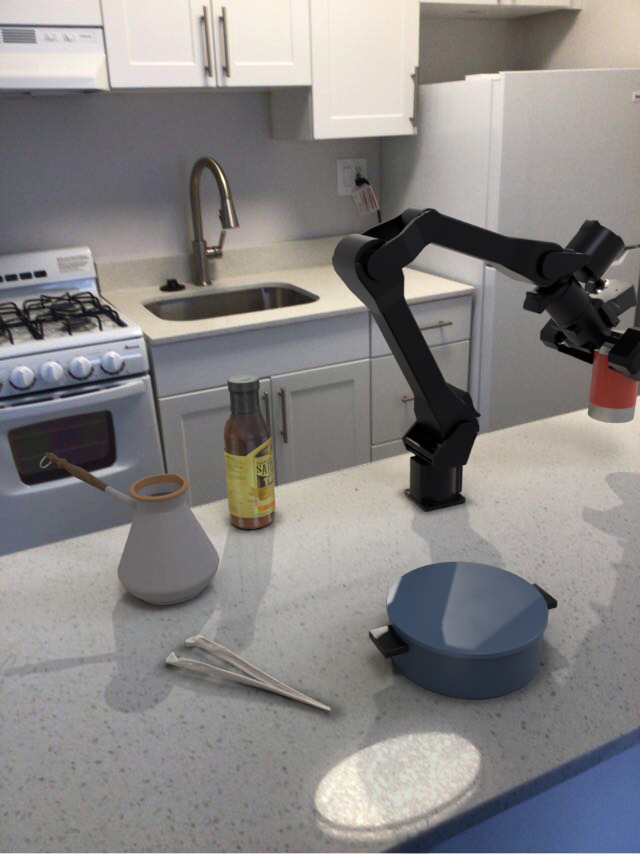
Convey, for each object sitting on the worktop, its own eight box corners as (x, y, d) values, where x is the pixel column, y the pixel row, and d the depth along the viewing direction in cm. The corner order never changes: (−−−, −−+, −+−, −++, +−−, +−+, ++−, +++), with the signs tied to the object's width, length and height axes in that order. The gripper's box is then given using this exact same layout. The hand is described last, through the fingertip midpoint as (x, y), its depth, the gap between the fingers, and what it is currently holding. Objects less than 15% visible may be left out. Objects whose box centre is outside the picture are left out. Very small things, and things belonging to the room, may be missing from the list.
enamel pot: (416, 728, 65) (416, 679, 63) (344, 629, 79) (343, 586, 77) (595, 667, 72) (600, 621, 70) (500, 585, 85) (502, 545, 83)
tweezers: (162, 668, 74) (161, 651, 73) (193, 641, 78) (192, 625, 77) (316, 739, 66) (317, 722, 65) (342, 706, 70) (343, 689, 69)
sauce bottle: (269, 533, 98) (259, 387, 91) (223, 530, 100) (210, 386, 92) (281, 510, 104) (273, 371, 97) (238, 507, 105) (226, 370, 98)
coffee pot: (238, 569, 90) (228, 453, 85) (188, 624, 80) (173, 497, 75) (92, 541, 98) (74, 434, 93) (30, 588, 88) (6, 471, 83)
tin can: (598, 424, 112) (607, 341, 107) (580, 409, 118) (588, 331, 113) (642, 422, 112) (653, 339, 107) (622, 407, 118) (631, 329, 114)
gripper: (660, 272, 97) (709, 344, 105) (561, 254, 113) (610, 318, 121) (605, 339, 97) (658, 407, 105) (515, 312, 113) (567, 372, 121)
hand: (622, 372), depth 113 cm, fingers closed on tin can, 7 cm apart
